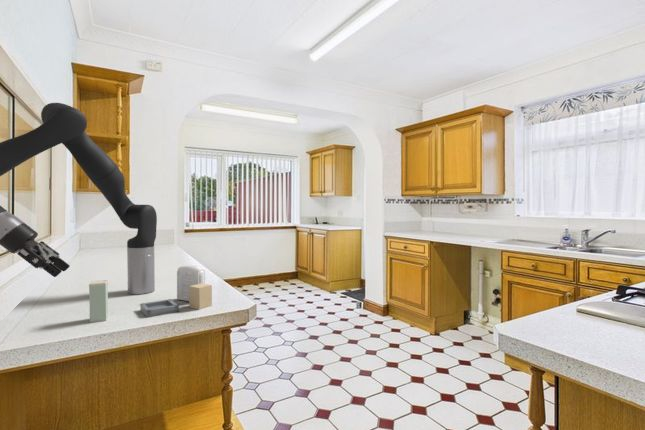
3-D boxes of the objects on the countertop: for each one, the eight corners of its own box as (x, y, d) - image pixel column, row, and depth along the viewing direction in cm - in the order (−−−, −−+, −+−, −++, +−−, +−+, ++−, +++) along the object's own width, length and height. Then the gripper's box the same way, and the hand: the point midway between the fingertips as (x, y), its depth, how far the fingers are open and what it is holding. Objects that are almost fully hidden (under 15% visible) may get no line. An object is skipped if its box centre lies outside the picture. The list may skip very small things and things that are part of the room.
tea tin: (92, 318, 106) (91, 281, 105) (108, 316, 107) (107, 280, 107) (89, 322, 102) (88, 284, 102) (106, 320, 104) (105, 282, 103)
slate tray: (140, 310, 114) (140, 303, 114) (170, 305, 119) (170, 299, 119) (147, 317, 107) (147, 310, 107) (178, 311, 112) (178, 305, 112)
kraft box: (189, 307, 117) (189, 286, 117) (201, 303, 122) (201, 283, 121) (199, 309, 115) (199, 288, 115) (211, 306, 119) (211, 285, 119)
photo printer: (207, 300, 126) (206, 265, 125) (198, 303, 122) (198, 267, 121) (183, 297, 130) (183, 263, 129) (175, 300, 126) (174, 265, 125)
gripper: (12, 223, 90) (67, 265, 95) (31, 220, 104) (79, 258, 108) (-15, 245, 89) (43, 287, 93) (9, 239, 102) (59, 276, 107)
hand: (63, 271), depth 101 cm, fingers open, 8 cm apart
